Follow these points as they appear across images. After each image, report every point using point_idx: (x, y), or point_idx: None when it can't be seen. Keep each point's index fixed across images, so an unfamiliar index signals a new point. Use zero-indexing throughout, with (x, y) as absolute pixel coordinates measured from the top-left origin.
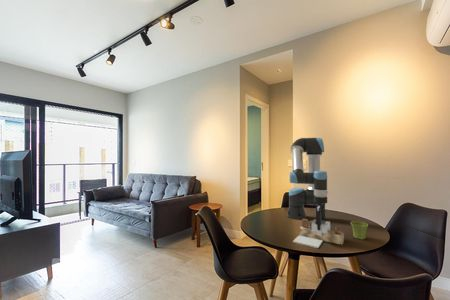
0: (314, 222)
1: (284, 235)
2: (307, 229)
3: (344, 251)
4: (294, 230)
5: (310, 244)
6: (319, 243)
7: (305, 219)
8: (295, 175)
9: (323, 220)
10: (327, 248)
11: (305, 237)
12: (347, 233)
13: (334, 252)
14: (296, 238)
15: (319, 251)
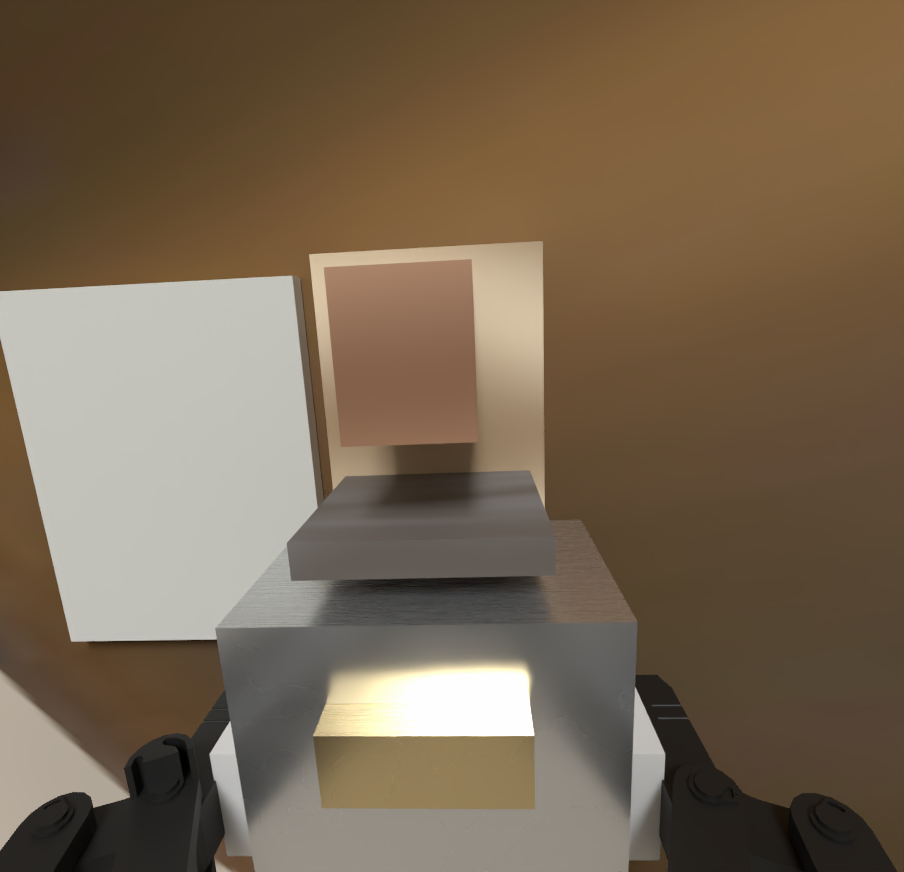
0: (274, 695)
1: (177, 28)
2: (328, 434)
3: (226, 856)
4: (563, 76)
5: (73, 544)
6: (195, 629)
7: (398, 375)
8: None
9: (663, 836)
10: (172, 711)
11: (277, 403)
12: (897, 824)
13: (123, 785)
14: (129, 298)
15: (22, 659)
